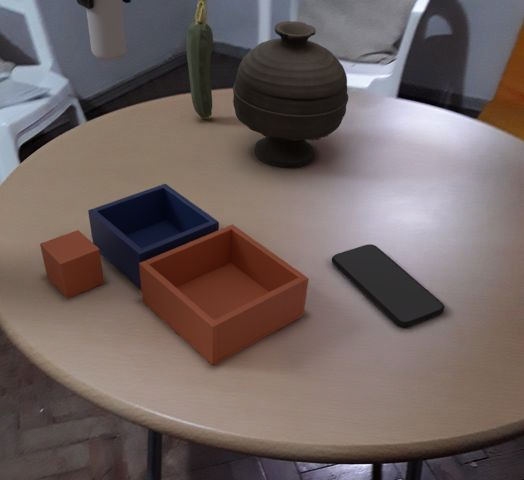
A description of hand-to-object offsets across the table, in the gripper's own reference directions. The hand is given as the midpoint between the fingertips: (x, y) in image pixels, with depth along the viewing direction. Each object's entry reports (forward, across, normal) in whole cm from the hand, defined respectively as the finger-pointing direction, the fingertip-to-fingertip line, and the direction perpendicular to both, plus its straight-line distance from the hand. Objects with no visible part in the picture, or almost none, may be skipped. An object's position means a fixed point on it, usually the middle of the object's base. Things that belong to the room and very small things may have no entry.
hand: (104, 1), depth 83 cm
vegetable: (+23, -20, -5) cm, 31 cm away
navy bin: (+23, +9, +23) cm, 34 cm away
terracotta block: (+23, +20, +22) cm, 38 cm away
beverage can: (+7, 0, 0) cm, 7 cm away
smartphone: (+23, -9, +47) cm, 53 cm away
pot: (+23, -24, +13) cm, 35 cm away
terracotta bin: (+23, +10, +37) cm, 45 cm away
